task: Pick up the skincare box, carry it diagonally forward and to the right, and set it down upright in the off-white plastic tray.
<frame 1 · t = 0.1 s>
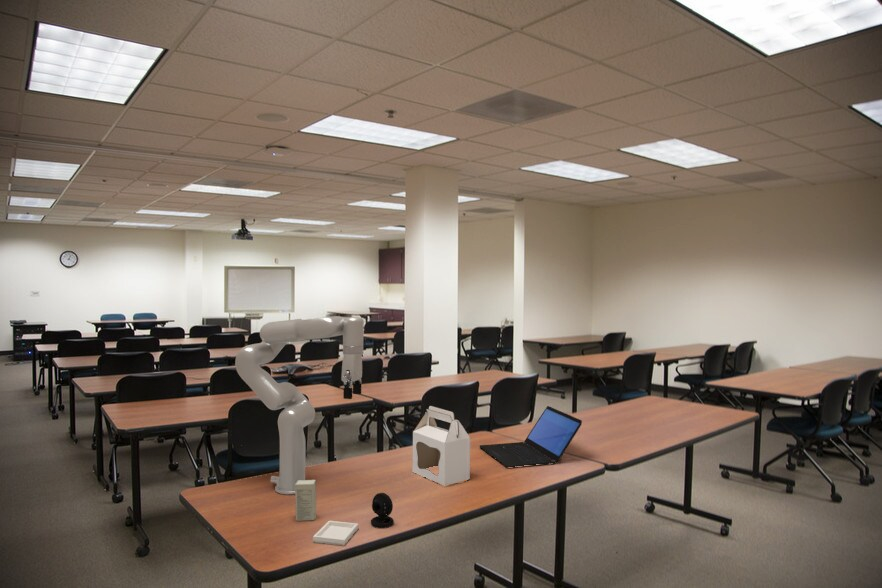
hand: (352, 396, 207), 37 cm above the table, tool pointing down, fingers open, 9 cm apart
gable box: (440, 477, 229), on the table
skincare box: (305, 518, 185), on the table
tray: (336, 535, 172), on the table
laptop: (528, 456, 261), on the table
webcam: (382, 524, 182), on the table
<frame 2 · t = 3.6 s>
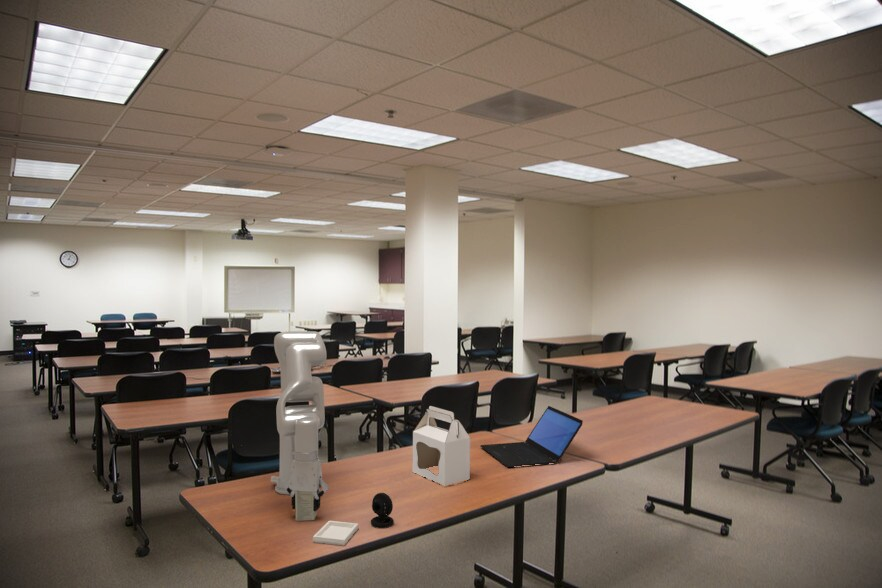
hand: (305, 508, 185), 3 cm above the table, tool pointing down, fingers closed on skincare box, 6 cm apart
skincare box: (305, 518, 185), on the table, touching gripper
everything else where it was.
when the fingers open (5 cm above the table, at t = 9.1 s): skincare box stays where it is, resting on tray.
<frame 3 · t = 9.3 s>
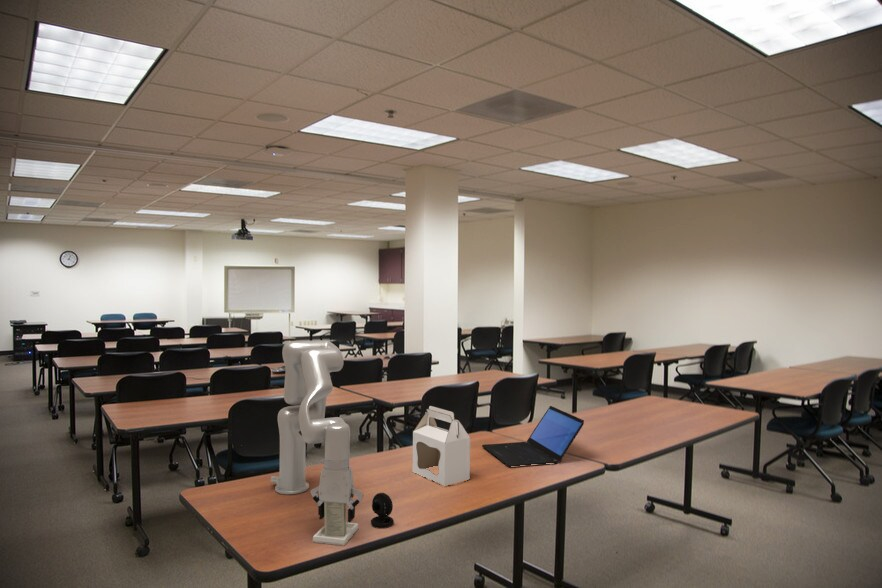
hand: (336, 518, 172), 5 cm above the table, tool pointing down, fingers open, 9 cm apart
skincare box: (335, 534, 172), resting on tray
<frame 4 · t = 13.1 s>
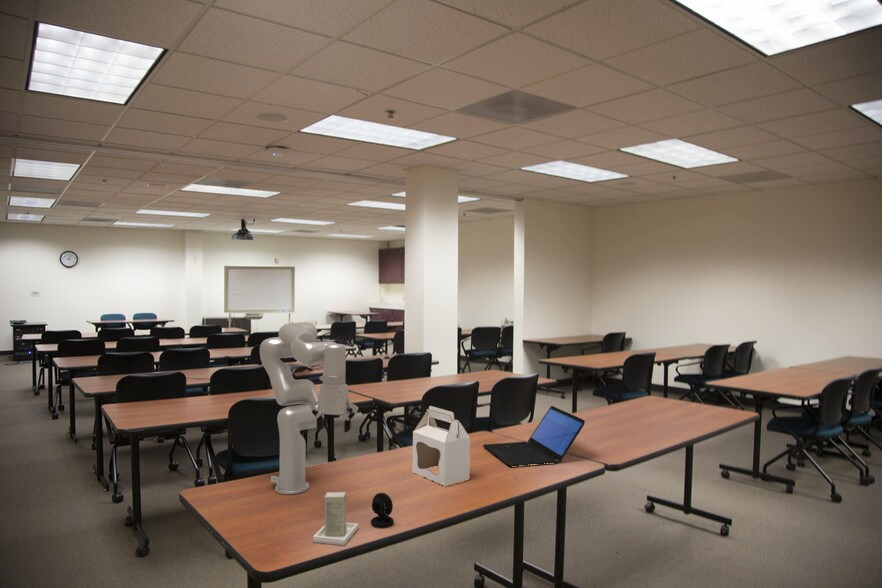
hand: (333, 430, 189), 28 cm above the table, tool pointing down, fingers open, 9 cm apart
at the end: skincare box inside the target area on the tray (0.4 cm from its centre), point 0.4 cm above the tray's base; skincare box tilted 0°; the gripper is holding nothing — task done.
